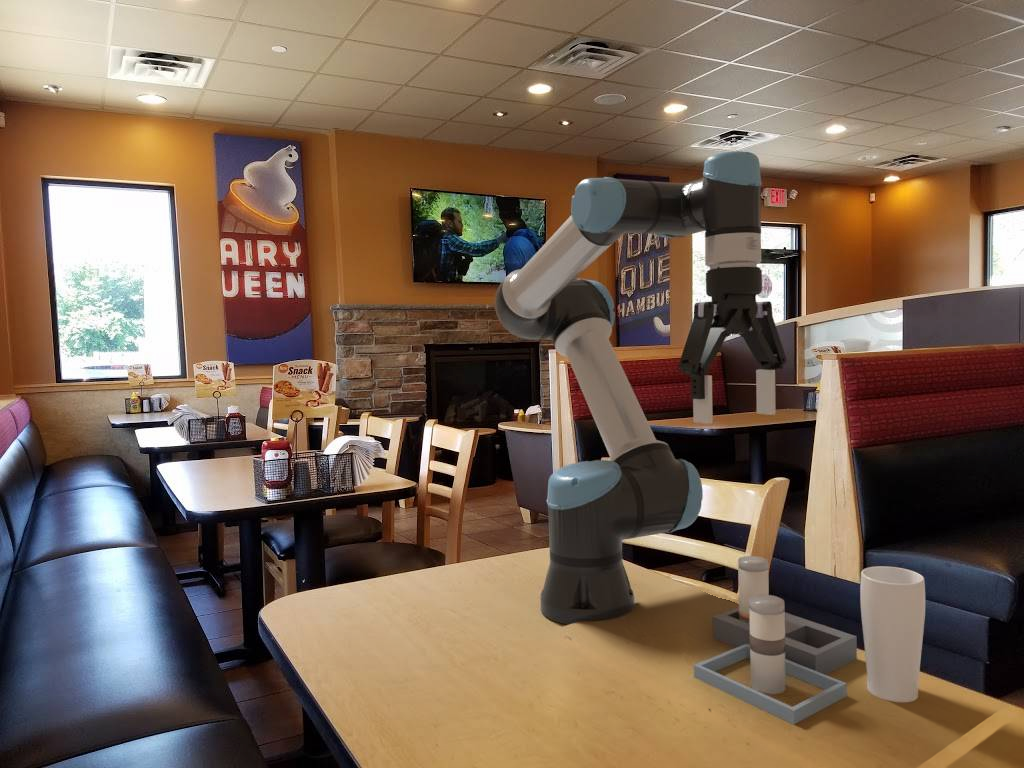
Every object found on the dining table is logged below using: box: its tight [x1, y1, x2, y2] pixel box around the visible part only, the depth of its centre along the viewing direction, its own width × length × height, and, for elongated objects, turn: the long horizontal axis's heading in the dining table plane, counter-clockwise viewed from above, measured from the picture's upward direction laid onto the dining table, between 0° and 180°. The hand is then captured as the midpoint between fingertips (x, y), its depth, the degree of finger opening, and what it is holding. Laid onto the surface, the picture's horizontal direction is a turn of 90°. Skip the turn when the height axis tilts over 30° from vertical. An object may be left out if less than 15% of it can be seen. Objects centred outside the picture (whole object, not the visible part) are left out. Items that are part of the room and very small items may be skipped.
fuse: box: [737, 555, 770, 624], centre depth 102 cm, size 4×4×11 cm
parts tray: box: [693, 644, 848, 725], centre depth 89 cm, size 14×10×2 cm
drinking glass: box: [859, 565, 926, 703], centre depth 86 cm, size 7×7×15 cm
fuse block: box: [712, 606, 858, 675], centre depth 99 cm, size 16×9×4 cm, turn 34°
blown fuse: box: [749, 594, 787, 695], centre depth 88 cm, size 4×4×11 cm
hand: (735, 418), depth 103 cm, fingers open, 13 cm apart
